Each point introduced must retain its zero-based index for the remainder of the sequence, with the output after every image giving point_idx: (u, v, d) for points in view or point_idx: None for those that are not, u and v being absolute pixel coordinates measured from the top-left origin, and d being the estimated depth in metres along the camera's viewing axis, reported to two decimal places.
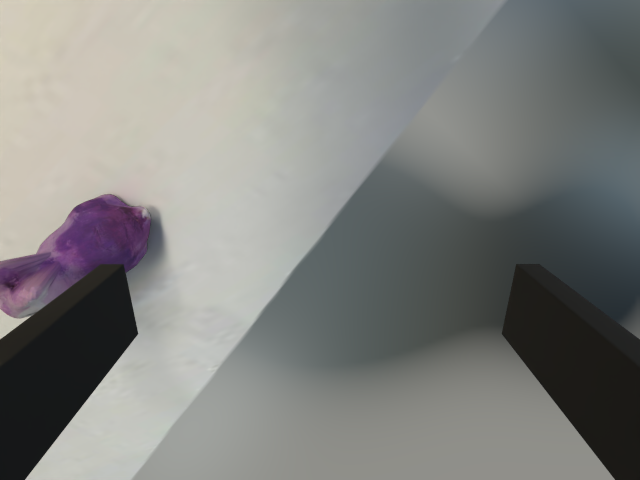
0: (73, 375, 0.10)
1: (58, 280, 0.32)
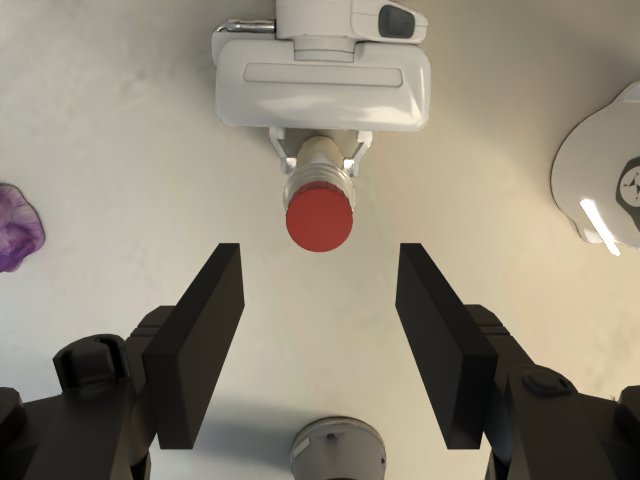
0: (221, 332, 0.11)
1: None
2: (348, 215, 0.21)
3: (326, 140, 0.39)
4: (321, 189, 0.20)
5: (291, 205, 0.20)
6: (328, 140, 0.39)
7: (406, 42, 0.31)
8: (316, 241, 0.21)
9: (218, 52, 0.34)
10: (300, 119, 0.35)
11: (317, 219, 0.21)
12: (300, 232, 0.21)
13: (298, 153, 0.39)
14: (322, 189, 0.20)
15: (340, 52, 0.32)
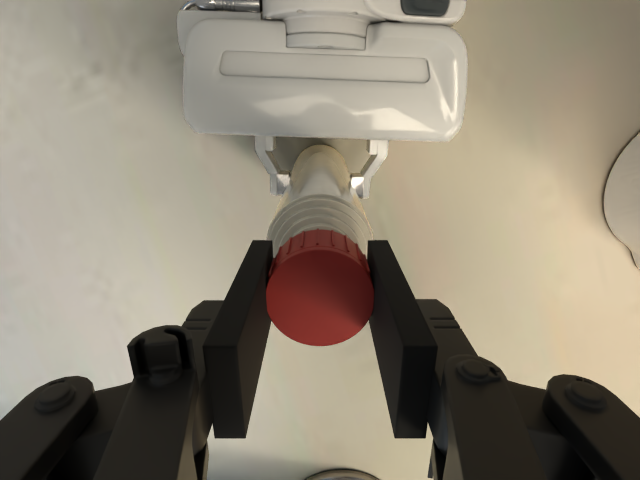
0: (262, 326, 0.12)
1: None
2: (368, 291, 0.12)
3: (328, 151, 0.31)
4: (323, 250, 0.12)
5: (273, 275, 0.12)
6: (331, 151, 0.31)
7: (437, 22, 0.23)
8: (315, 330, 0.13)
9: (186, 37, 0.26)
10: (294, 125, 0.26)
11: (316, 297, 0.12)
12: (289, 317, 0.13)
13: None
14: (325, 250, 0.12)
15: (348, 36, 0.23)
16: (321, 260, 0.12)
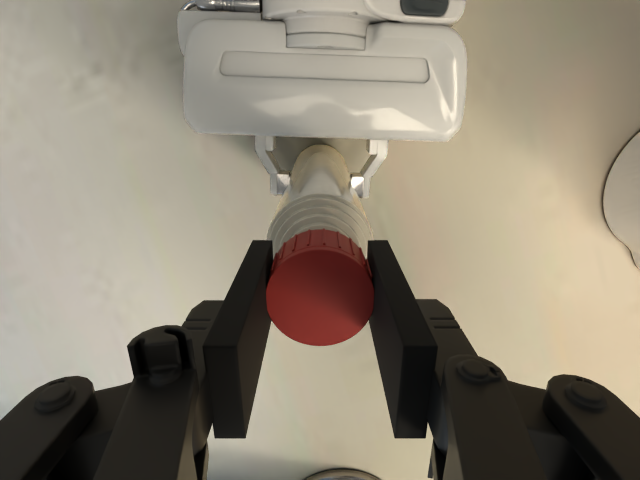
0: (262, 327, 0.12)
1: None
2: (307, 256, 0.12)
3: (328, 151, 0.31)
4: (266, 298, 0.13)
5: (295, 338, 0.13)
6: (331, 151, 0.31)
7: (436, 22, 0.23)
8: (355, 304, 0.13)
9: (186, 37, 0.26)
10: (294, 125, 0.26)
11: (316, 303, 0.13)
12: (339, 326, 0.13)
13: None
14: (266, 296, 0.13)
15: (347, 36, 0.24)
16: (276, 300, 0.13)
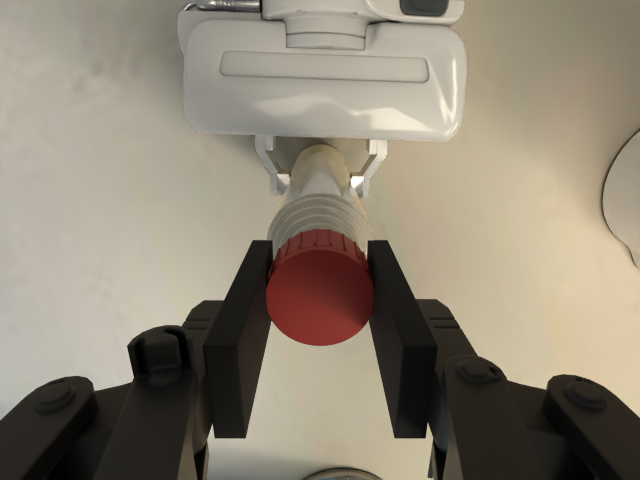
0: (262, 327, 0.12)
1: None
2: (273, 311, 0.13)
3: (328, 151, 0.31)
4: (319, 344, 0.13)
5: (365, 321, 0.13)
6: (330, 150, 0.31)
7: (436, 22, 0.23)
8: (323, 268, 0.12)
9: (187, 37, 0.26)
10: (294, 125, 0.27)
11: (323, 303, 0.13)
12: (351, 281, 0.12)
13: None
14: (318, 344, 0.13)
15: (347, 36, 0.24)
16: (320, 337, 0.13)
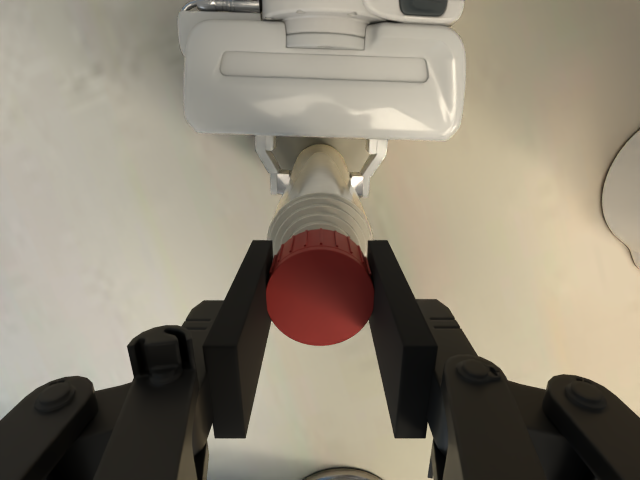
0: (262, 327, 0.12)
1: None
2: (333, 339, 0.13)
3: (328, 150, 0.31)
4: (373, 299, 0.13)
5: (344, 256, 0.12)
6: (330, 150, 0.31)
7: (435, 22, 0.23)
8: (284, 298, 0.13)
9: (187, 38, 0.26)
10: (294, 125, 0.27)
11: (323, 297, 0.12)
12: (297, 273, 0.12)
13: (293, 167, 0.31)
14: (373, 300, 0.13)
15: (347, 36, 0.24)
16: (364, 298, 0.13)
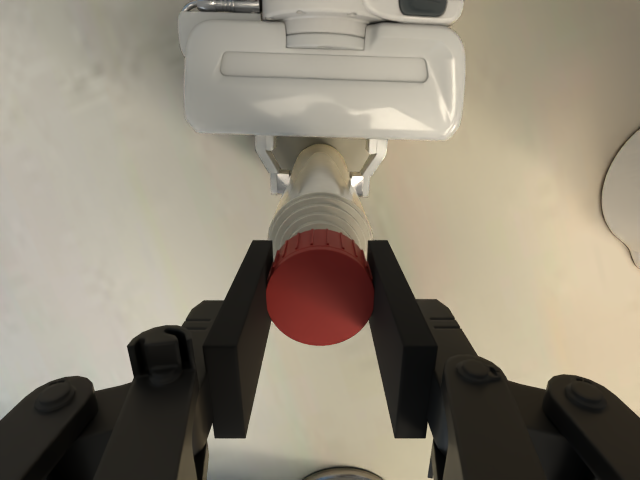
0: (262, 326, 0.12)
1: None
2: (367, 286, 0.12)
3: (328, 150, 0.31)
4: (317, 250, 0.12)
5: (271, 280, 0.12)
6: (330, 150, 0.32)
7: (435, 22, 0.23)
8: (319, 330, 0.13)
9: (187, 38, 0.26)
10: (294, 125, 0.27)
11: (316, 297, 0.13)
12: (291, 319, 0.13)
13: (293, 167, 0.31)
14: (319, 250, 0.12)
15: (347, 36, 0.24)
16: (316, 260, 0.12)
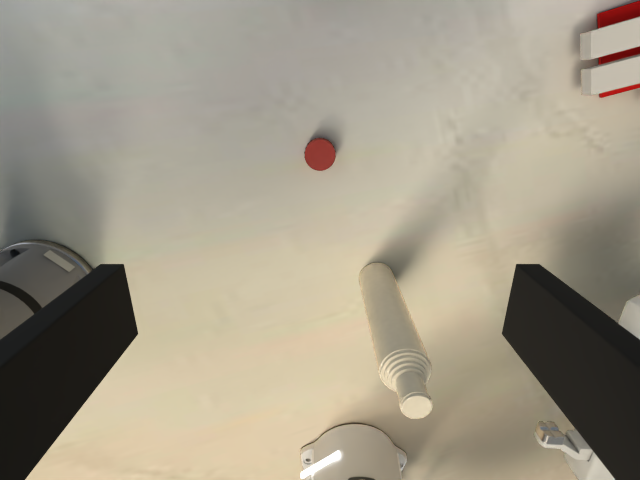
0: (73, 375, 0.10)
1: None
2: (315, 142, 0.45)
3: None
4: (305, 156, 0.45)
5: (314, 168, 0.46)
6: None
7: None
8: (329, 155, 0.45)
9: None
10: None
11: (319, 156, 0.45)
12: (326, 163, 0.45)
13: (390, 278, 0.48)
14: (305, 155, 0.45)
15: None
16: (307, 156, 0.45)
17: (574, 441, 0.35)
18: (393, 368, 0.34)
